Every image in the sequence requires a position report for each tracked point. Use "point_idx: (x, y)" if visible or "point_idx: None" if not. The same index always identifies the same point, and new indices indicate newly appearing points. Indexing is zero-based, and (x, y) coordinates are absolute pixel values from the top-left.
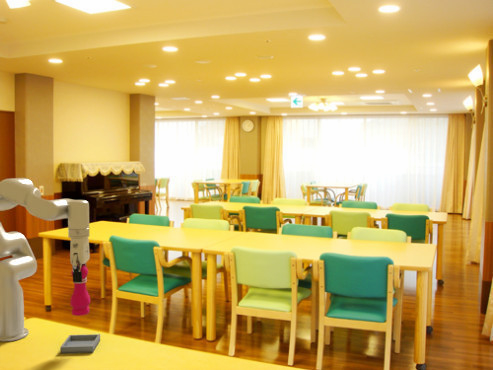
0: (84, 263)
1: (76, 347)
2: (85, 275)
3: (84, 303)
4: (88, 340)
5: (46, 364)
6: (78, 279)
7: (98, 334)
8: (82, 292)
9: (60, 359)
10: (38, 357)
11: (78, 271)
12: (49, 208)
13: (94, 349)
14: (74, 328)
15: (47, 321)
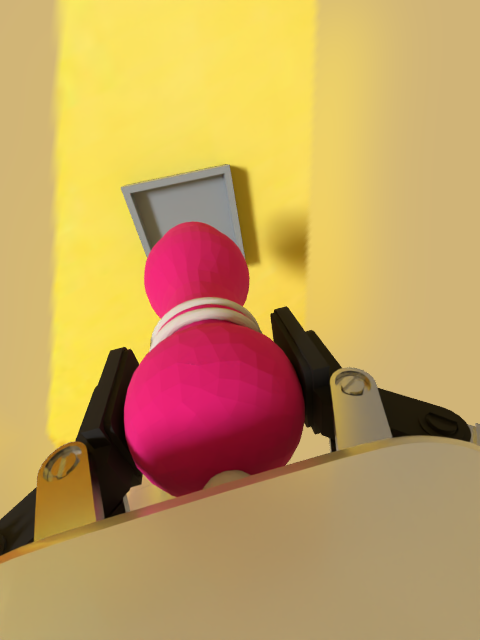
0: (97, 497)
1: (238, 220)
2: (237, 325)
3: (231, 240)
4: (152, 220)
5: (302, 260)
6: (312, 334)
7: (125, 193)
8: (229, 278)
9: (274, 241)
10: (266, 298)
11: (368, 384)
12: None
13: (207, 168)
14: (64, 316)
15: (52, 402)
